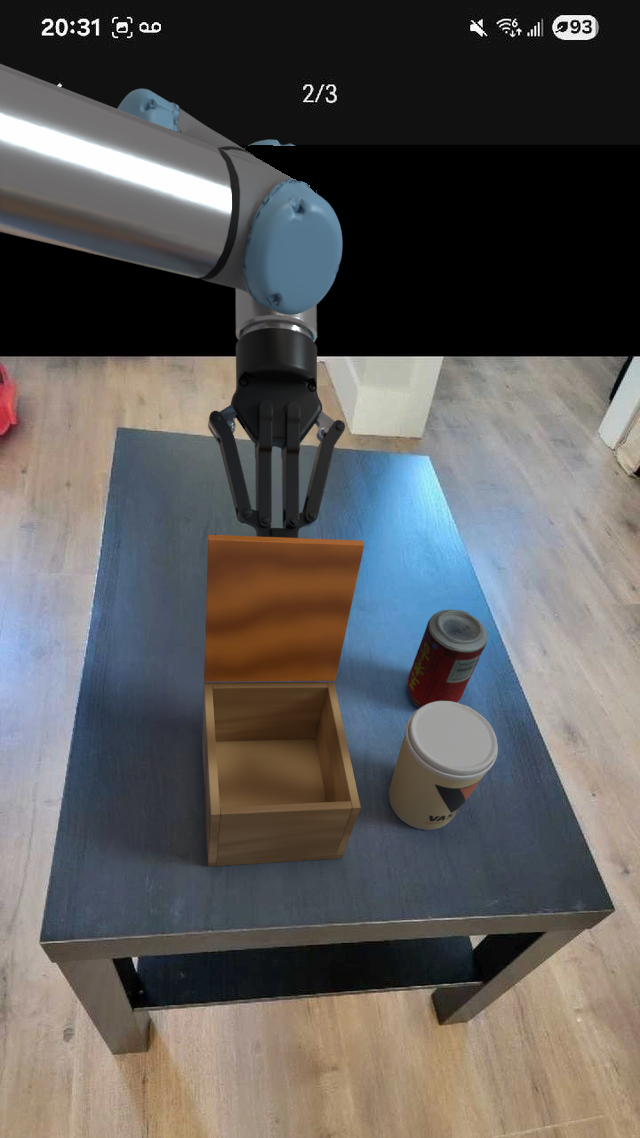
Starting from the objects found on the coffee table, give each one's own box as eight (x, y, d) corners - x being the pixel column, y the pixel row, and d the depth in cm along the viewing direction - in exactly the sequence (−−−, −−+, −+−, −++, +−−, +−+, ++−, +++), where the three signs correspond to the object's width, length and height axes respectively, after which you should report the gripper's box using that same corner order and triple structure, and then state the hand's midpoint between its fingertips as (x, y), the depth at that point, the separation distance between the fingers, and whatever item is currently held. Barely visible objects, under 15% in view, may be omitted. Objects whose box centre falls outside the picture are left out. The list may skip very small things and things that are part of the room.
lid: (364, 545, 60) (362, 540, 61) (208, 539, 57) (207, 534, 58) (335, 681, 72) (334, 676, 72) (204, 682, 69) (203, 676, 69)
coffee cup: (424, 853, 72) (458, 789, 63) (363, 792, 76) (388, 724, 67) (479, 808, 77) (519, 743, 68) (420, 753, 81) (450, 684, 72)
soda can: (469, 704, 87) (502, 635, 78) (428, 725, 84) (457, 655, 74) (433, 668, 90) (461, 597, 81) (392, 687, 87) (416, 615, 78)
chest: (342, 858, 70) (361, 807, 63) (207, 867, 67) (210, 814, 60) (320, 737, 80) (334, 681, 72) (201, 740, 77) (204, 682, 70)
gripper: (335, 364, 68) (334, 603, 71) (203, 352, 66) (206, 601, 68) (355, 331, 61) (353, 598, 63) (207, 315, 58) (211, 595, 61)
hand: (277, 599), depth 66 cm, fingers closed
